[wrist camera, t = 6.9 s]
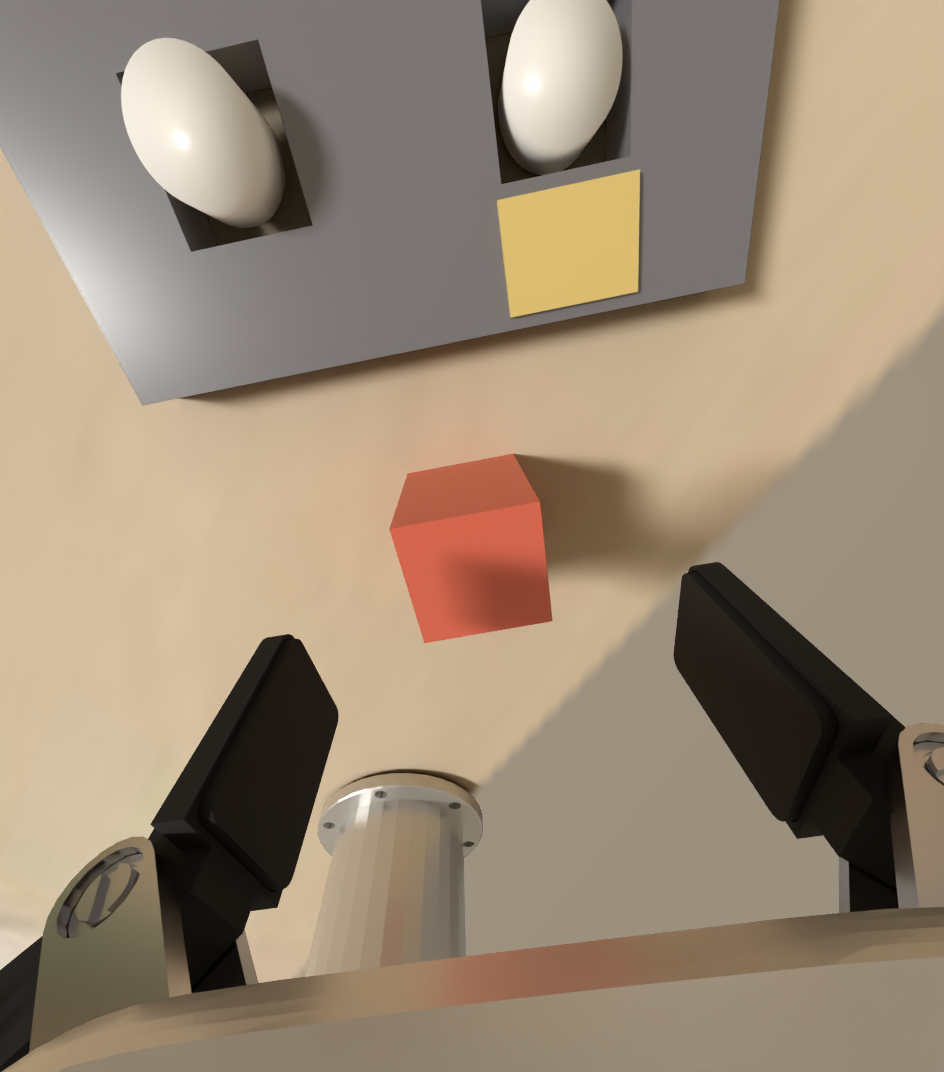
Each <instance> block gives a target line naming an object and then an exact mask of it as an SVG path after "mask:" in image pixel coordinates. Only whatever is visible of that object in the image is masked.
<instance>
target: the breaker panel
mask: <svg viewBox="0 0 944 1072" xmlns="http://www.w3.org/2000/svg"><path fill="white" fill-rule="evenodd" d="M529 1H530V0H0V148H1V149H2V151H3V153H4V155H5V157H6V158H7V160H8V162H9V164H10V166H11V168H12V169H13V171H14V173H15V175H16V177H17V178H18V180H19V182H20V184H21V186H22V188H23V189H24V191H25V193H26V195H27V197H28V198H29V200H30V202H31V204H32V206H33V208H34V209H35V211H36V213H37V215H38V217H39V218H40V220H41V222H42V224H43V226H44V227H45V229H46V231H47V233H48V235H49V237H50V238H51V240H52V242H53V244H54V246H55V247H56V249H57V251H58V253H59V255H60V257H61V258H62V260H63V262H64V264H65V266H66V267H67V269H68V271H69V273H70V275H71V276H72V278H73V280H74V282H75V284H76V286H77V287H78V289H79V291H80V293H81V295H82V296H83V298H84V300H85V302H86V304H87V306H88V307H89V309H90V311H91V313H92V315H93V316H94V318H95V320H96V322H97V324H98V325H99V327H100V329H101V331H102V333H103V335H104V336H105V338H106V340H107V342H108V344H109V345H110V347H111V349H112V351H113V353H114V355H115V356H116V358H117V360H118V362H119V364H120V365H121V367H122V369H123V371H124V373H125V375H126V376H127V378H128V380H129V382H130V384H131V385H132V387H133V389H134V391H135V393H136V394H137V396H138V398H139V400H140V402H141V404H142V405H148V404H153V403H158V402H162V401H167V400H172V399H177V398H182V397H187V396H192V395H197V394H202V393H207V392H212V391H217V390H222V389H227V388H231V387H236V386H241V385H246V384H251V383H256V382H261V381H266V380H271V379H276V378H281V377H286V376H291V375H296V374H300V373H305V372H310V371H315V370H320V369H325V368H330V367H335V366H340V365H345V364H350V363H355V362H360V361H365V360H369V359H374V358H379V357H384V356H389V355H394V354H399V353H404V352H409V351H414V350H419V349H424V348H429V347H434V346H438V345H443V344H448V343H453V342H458V341H463V340H468V339H473V338H478V337H483V336H488V335H493V334H498V333H503V332H507V331H512V330H517V329H522V328H527V327H532V326H537V325H542V324H547V323H552V322H557V321H562V320H567V319H572V318H576V317H581V316H586V315H591V314H596V313H601V312H606V311H611V310H616V309H621V308H626V307H631V306H636V305H641V304H645V303H650V302H655V301H660V300H665V299H670V298H675V297H680V296H685V295H690V294H695V293H700V292H705V291H710V290H714V289H719V288H724V287H729V286H734V285H739V284H744V283H745V277H746V268H747V260H748V252H749V244H750V236H751V228H752V220H753V212H754V203H755V195H756V187H757V179H758V171H759V163H760V155H761V147H762V139H763V130H764V122H765V114H766V106H767V98H768V90H769V82H770V74H771V65H772V57H773V49H774V41H775V33H776V25H777V17H778V9H779V1H780V0H606V1H607V2H608V4H609V5H610V7H611V9H612V11H613V13H614V15H615V17H616V20H617V23H618V26H619V30H620V34H621V41H622V55H623V58H622V72H621V79H620V83H619V88H618V91H617V94H616V97H615V100H614V102H613V105H612V107H611V109H610V111H609V113H608V115H607V117H606V143H607V161H606V162H602V163H597V164H593V165H588V166H583V167H579V168H574V169H570V170H565V171H560V172H556V173H551V174H547V175H542V176H537V177H533V178H528V179H524V180H519V181H514V182H510V183H505V184H501V178H500V169H499V160H498V151H497V142H496V133H495V124H494V115H493V106H492V97H491V88H490V79H489V70H488V61H487V52H486V43H485V38H487V37H492V36H496V35H500V34H504V33H509V32H513V30H514V27H515V25H516V22H517V20H518V18H519V16H520V14H521V13H522V11H523V9H524V8H525V6H526V5H527V4H528V2H529ZM159 38H175V39H179V40H184V41H186V42H188V43H191V44H193V45H195V46H197V47H198V48H200V49H202V50H203V51H205V52H206V53H207V54H209V55H210V56H211V57H212V58H213V59H215V60H216V61H217V62H218V63H219V64H220V65H221V66H222V68H223V69H224V70H225V71H226V72H227V73H228V74H229V76H230V77H231V78H232V79H233V80H234V82H235V83H236V84H237V85H238V86H239V88H240V89H241V90H242V91H243V92H244V94H246V93H251V92H255V91H259V90H264V89H268V88H272V89H273V92H274V96H275V99H276V102H277V106H278V109H279V112H280V116H281V119H282V123H283V126H284V129H285V133H286V136H287V140H288V143H289V146H290V150H291V153H292V157H293V160H294V163H295V167H296V170H297V174H298V177H299V180H300V184H301V187H302V191H303V194H304V197H305V201H306V204H307V208H308V211H309V214H310V218H311V221H312V226H308V227H303V228H298V229H294V230H289V231H285V232H280V233H275V234H271V235H266V236H262V237H257V238H253V239H248V240H243V241H239V242H234V243H230V244H225V245H220V246H217V244H216V241H215V239H214V236H213V234H212V231H211V229H210V226H209V224H208V221H207V218H206V216H205V213H203V212H202V211H200V210H198V209H196V208H194V207H192V206H190V205H188V204H186V203H184V202H182V201H180V200H179V199H177V198H176V197H174V196H173V195H171V194H170V193H169V192H167V191H166V190H165V189H164V188H163V187H162V186H161V185H160V184H159V183H157V182H156V180H155V179H154V178H153V177H152V176H151V175H150V173H149V172H148V171H147V169H146V168H145V167H144V165H143V164H142V162H141V160H140V159H139V157H138V155H137V154H136V152H135V149H134V147H133V145H132V143H131V141H130V138H129V135H128V133H127V130H126V126H125V123H124V118H123V113H122V104H121V87H122V80H123V75H124V72H125V68H126V66H127V64H128V62H129V60H130V58H131V57H132V55H133V54H134V53H135V51H137V50H138V49H139V48H140V47H141V46H142V45H144V44H145V43H147V42H149V41H152V40H155V39H159Z"/></svg>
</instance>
